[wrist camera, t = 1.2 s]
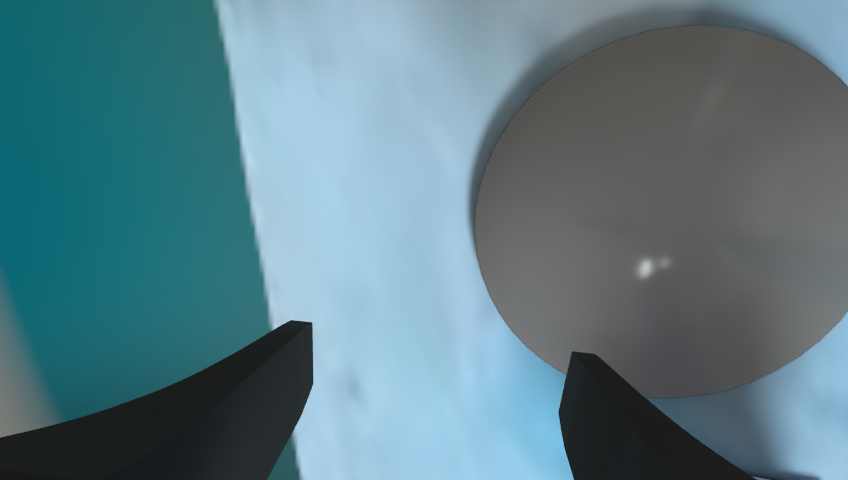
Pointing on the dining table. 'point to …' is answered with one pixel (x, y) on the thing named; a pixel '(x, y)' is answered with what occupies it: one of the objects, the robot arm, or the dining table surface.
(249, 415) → the robot arm
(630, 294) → the slate plate
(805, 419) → the dining table surface
